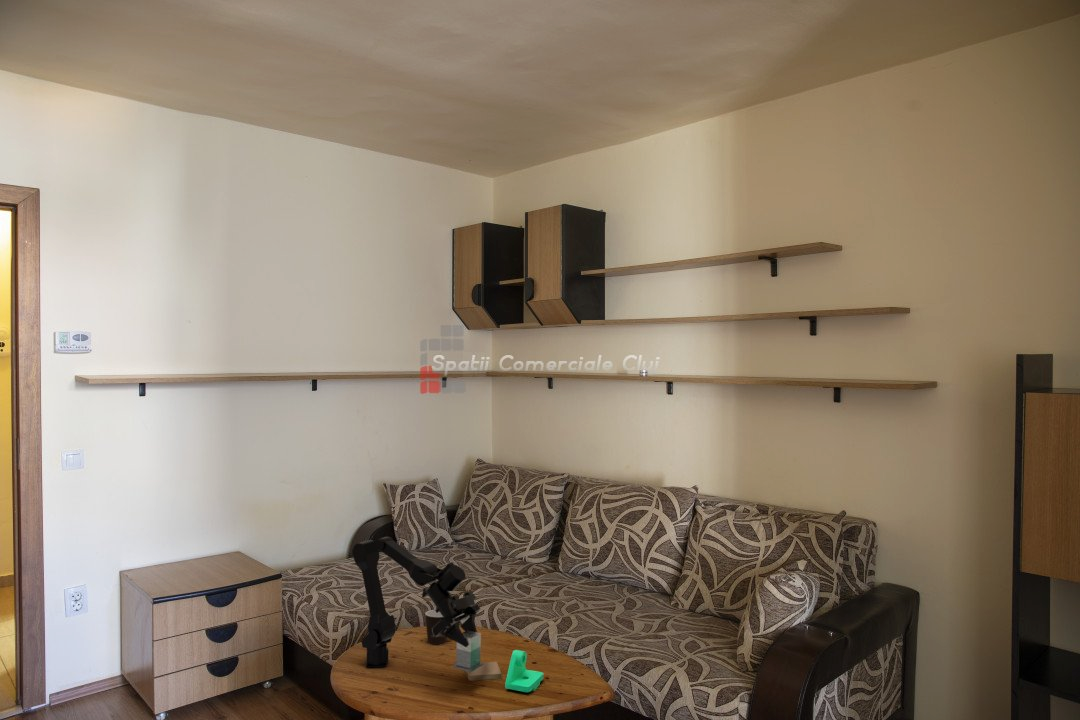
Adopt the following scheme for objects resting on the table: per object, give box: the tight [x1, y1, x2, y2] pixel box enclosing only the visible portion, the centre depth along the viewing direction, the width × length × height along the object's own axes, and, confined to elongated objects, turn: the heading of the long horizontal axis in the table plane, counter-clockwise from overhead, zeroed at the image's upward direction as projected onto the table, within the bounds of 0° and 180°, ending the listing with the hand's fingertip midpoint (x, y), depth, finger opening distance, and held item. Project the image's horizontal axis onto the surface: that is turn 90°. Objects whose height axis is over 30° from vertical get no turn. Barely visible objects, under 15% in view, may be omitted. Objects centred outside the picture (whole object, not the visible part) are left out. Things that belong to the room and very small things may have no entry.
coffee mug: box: [424, 609, 461, 646], centre depth 257 cm, size 12×9×10 cm
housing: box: [452, 630, 483, 672], centre depth 219 cm, size 6×6×10 cm
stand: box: [465, 661, 502, 682], centre depth 230 cm, size 10×10×2 cm
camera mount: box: [504, 649, 544, 693], centre depth 221 cm, size 12×8×10 cm, turn 157°
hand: (472, 643), depth 219 cm, fingers closed on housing, 5 cm apart
